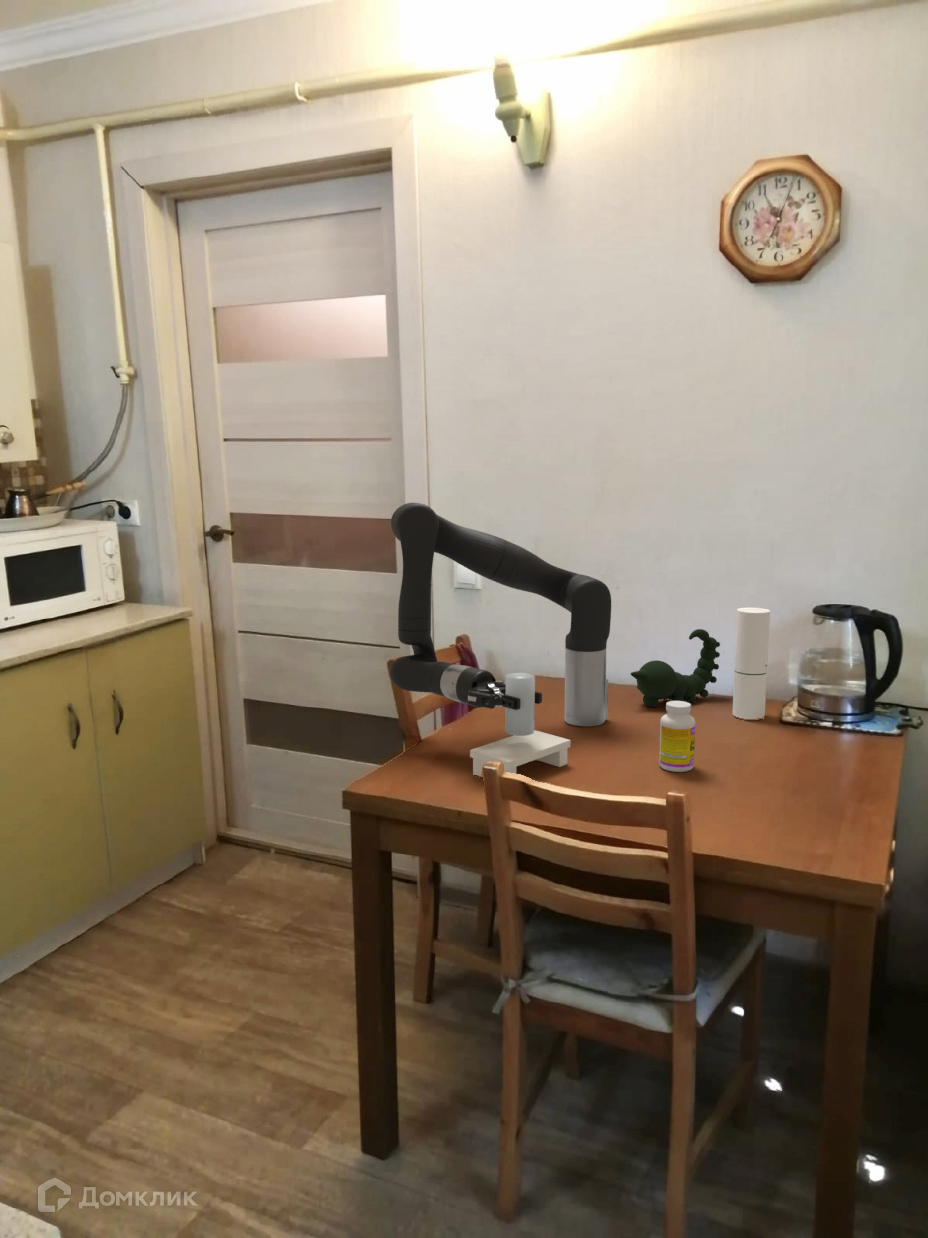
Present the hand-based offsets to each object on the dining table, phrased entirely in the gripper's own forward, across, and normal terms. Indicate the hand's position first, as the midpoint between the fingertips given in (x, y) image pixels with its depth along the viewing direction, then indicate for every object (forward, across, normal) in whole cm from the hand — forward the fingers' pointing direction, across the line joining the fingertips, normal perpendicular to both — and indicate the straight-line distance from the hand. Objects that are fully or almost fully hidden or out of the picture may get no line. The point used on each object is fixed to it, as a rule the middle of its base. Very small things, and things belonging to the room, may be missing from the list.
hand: (529, 701), depth 176 cm
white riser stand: (-2, 0, +14) cm, 14 cm away
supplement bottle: (+19, +22, +14) cm, 32 cm away
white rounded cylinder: (-3, 0, +6) cm, 7 cm away
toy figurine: (-7, +61, +14) cm, 63 cm away
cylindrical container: (+12, +63, +14) cm, 66 cm away
